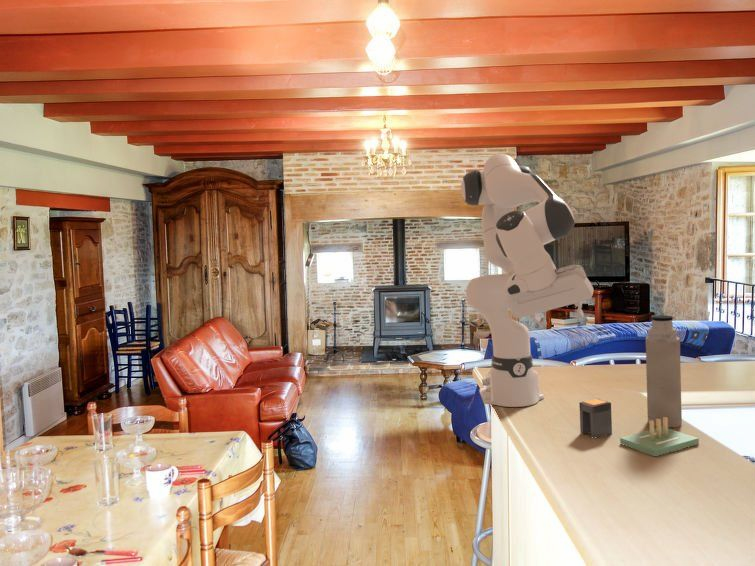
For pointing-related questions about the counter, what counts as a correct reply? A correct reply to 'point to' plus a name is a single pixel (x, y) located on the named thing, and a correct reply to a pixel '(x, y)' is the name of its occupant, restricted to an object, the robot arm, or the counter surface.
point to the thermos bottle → (663, 372)
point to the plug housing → (595, 417)
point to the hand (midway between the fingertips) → (561, 321)
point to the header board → (659, 439)
